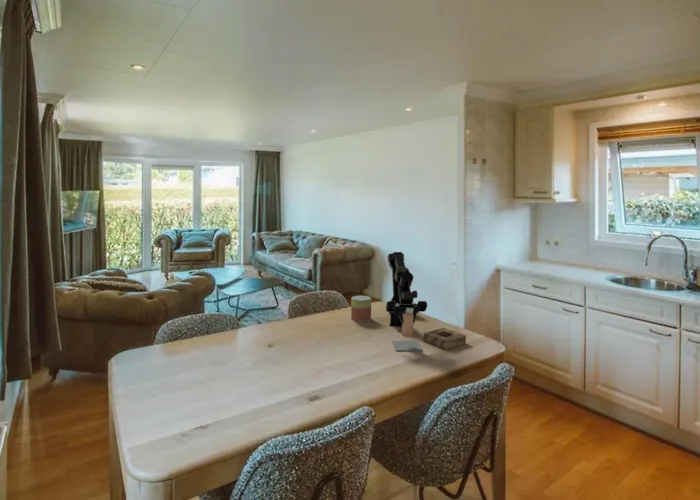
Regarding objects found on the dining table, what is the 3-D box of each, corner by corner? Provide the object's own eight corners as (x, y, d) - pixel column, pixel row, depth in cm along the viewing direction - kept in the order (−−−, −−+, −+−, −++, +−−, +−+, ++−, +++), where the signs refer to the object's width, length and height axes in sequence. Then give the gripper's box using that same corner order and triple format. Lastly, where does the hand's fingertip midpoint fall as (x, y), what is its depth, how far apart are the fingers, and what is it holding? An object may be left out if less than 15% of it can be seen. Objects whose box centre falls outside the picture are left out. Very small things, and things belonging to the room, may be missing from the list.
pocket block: (423, 341, 203) (423, 333, 202) (442, 335, 212) (443, 327, 211) (446, 349, 192) (446, 341, 192) (465, 343, 201) (466, 335, 200)
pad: (392, 341, 202) (392, 340, 202) (417, 341, 202) (417, 340, 202) (396, 351, 190) (396, 350, 190) (422, 351, 190) (422, 349, 190)
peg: (399, 335, 196) (400, 314, 194) (407, 332, 199) (408, 312, 197) (407, 338, 192) (408, 316, 190) (415, 335, 195) (415, 314, 194)
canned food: (374, 317, 239) (375, 297, 238) (364, 323, 230) (364, 301, 228) (357, 314, 245) (357, 294, 244) (347, 319, 236) (347, 298, 234)
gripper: (387, 284, 195) (390, 314, 186) (427, 284, 196) (432, 314, 187) (384, 296, 204) (387, 325, 195) (422, 296, 205) (427, 325, 196)
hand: (408, 322), depth 193 cm, fingers closed on peg, 5 cm apart
